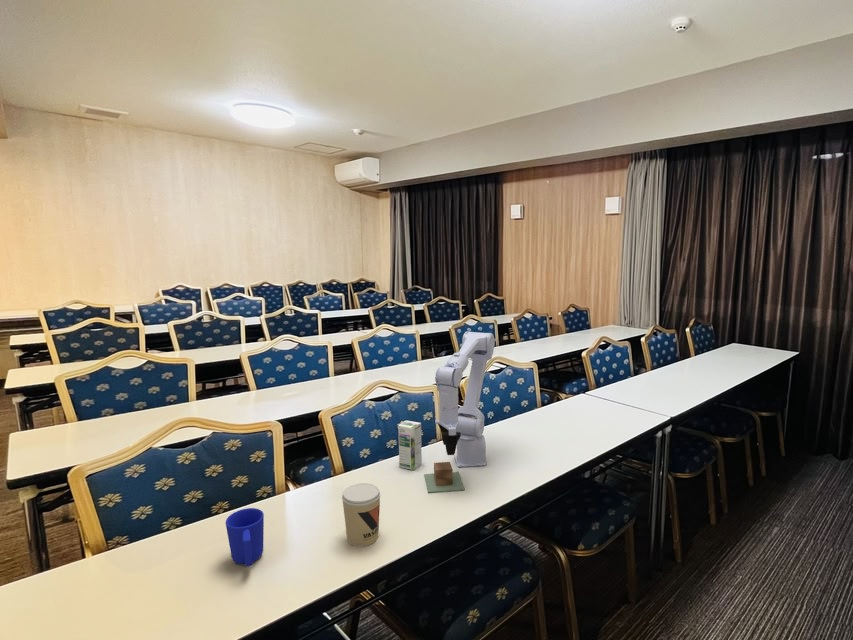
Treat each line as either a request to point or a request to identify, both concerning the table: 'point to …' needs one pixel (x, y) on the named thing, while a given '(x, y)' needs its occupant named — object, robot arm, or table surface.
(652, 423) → the table surface
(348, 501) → the beige lidded canister
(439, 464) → the walnut block
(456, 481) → the green mat
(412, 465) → the syrup box
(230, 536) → the mug
